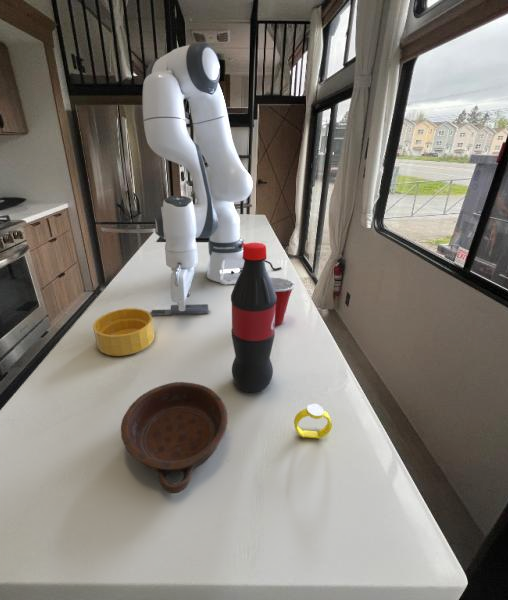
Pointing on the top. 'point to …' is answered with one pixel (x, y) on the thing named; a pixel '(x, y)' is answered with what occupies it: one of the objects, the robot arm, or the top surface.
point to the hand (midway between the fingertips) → (184, 302)
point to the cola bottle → (253, 321)
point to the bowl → (124, 331)
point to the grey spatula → (175, 310)
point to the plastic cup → (281, 297)
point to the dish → (174, 429)
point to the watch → (316, 413)
